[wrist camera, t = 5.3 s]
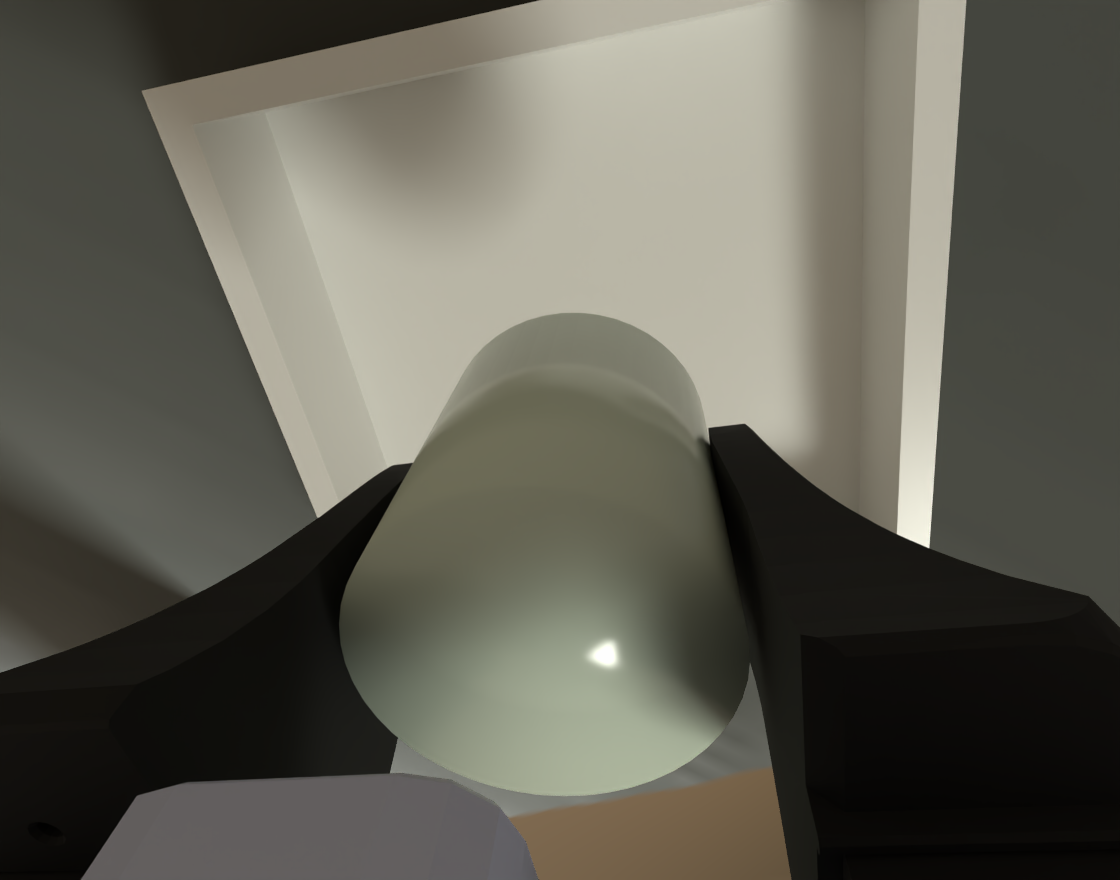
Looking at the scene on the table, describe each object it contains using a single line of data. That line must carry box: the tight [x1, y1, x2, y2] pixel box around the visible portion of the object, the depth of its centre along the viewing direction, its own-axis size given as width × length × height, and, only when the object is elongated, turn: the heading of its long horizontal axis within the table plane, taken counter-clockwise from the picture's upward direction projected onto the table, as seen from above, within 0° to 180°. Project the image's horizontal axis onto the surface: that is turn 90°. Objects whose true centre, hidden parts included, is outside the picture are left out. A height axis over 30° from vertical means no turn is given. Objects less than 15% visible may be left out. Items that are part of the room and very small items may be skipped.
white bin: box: [142, 0, 966, 548], centre depth 19 cm, size 16×16×4 cm
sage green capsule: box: [339, 313, 750, 796], centre depth 11 cm, size 5×5×6 cm
